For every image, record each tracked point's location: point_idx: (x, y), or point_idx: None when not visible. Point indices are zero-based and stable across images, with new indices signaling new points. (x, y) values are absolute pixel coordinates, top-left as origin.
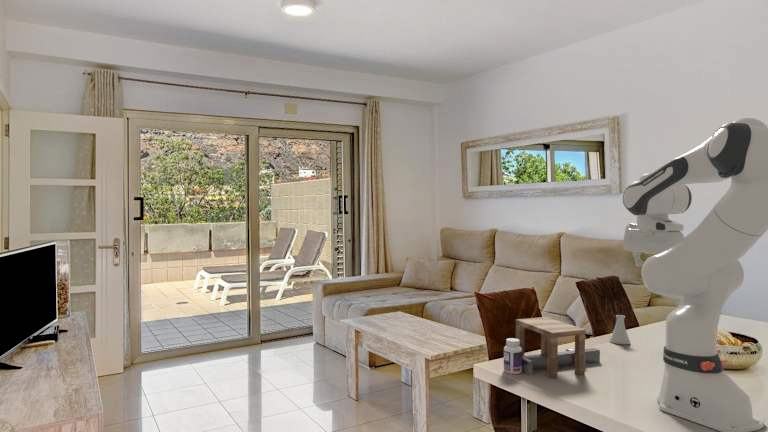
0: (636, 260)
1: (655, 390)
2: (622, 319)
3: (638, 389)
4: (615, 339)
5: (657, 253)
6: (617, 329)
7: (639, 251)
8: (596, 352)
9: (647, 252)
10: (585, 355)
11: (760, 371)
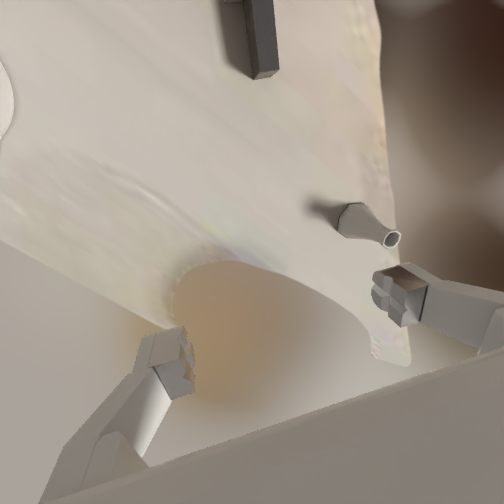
0: (433, 284)
1: (45, 71)
2: (380, 237)
3: (46, 26)
4: (355, 208)
5: (169, 470)
6: (369, 220)
7: (497, 358)
8: (257, 60)
9: (360, 402)
10: (250, 14)
11: None
